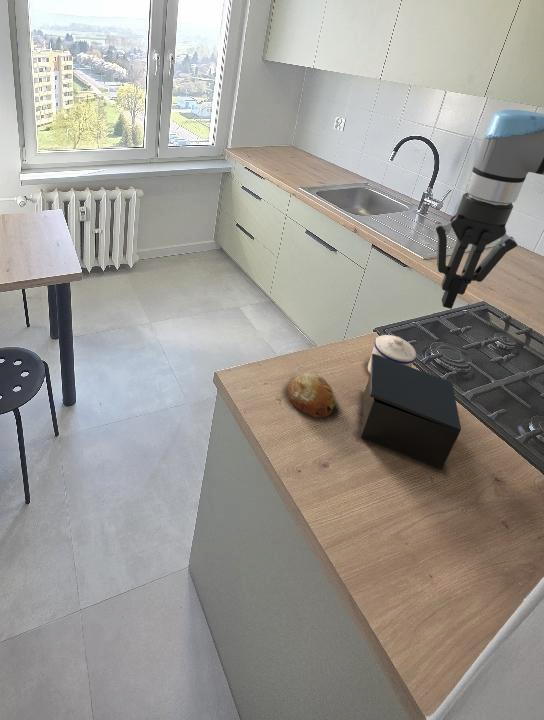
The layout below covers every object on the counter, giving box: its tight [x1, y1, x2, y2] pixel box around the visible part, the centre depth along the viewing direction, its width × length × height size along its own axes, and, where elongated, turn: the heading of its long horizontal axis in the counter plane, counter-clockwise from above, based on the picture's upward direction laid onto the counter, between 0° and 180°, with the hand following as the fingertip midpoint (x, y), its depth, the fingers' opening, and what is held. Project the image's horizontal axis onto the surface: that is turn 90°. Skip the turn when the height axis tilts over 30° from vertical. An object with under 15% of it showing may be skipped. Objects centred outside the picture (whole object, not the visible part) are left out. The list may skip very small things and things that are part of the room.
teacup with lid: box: [367, 334, 417, 374], centre depth 103 cm, size 12×9×12 cm
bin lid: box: [370, 353, 462, 432], centre depth 85 cm, size 16×13×1 cm
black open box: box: [360, 373, 461, 471], centre depth 87 cm, size 15×13×11 cm
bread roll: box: [287, 372, 338, 418], centre depth 95 cm, size 10×10×8 cm
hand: (446, 304), depth 85 cm, fingers closed
